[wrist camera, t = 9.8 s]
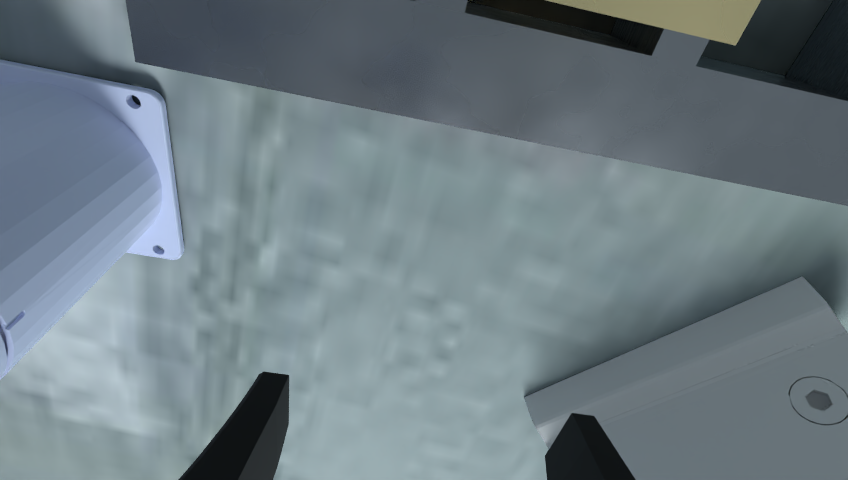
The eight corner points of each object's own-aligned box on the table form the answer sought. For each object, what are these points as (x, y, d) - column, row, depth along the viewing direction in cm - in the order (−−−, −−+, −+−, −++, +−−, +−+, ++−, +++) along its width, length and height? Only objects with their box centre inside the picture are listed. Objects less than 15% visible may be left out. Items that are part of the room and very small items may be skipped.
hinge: (811, 272, 22) (1028, 500, 15) (808, 303, 25) (986, 501, 19) (518, 399, 27) (587, 602, 21) (547, 411, 31) (614, 590, 24)
